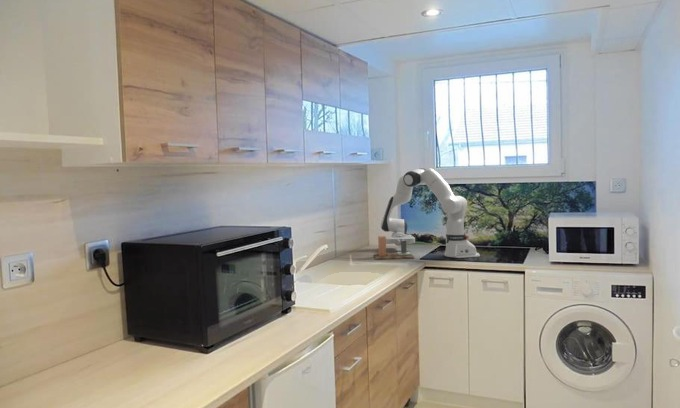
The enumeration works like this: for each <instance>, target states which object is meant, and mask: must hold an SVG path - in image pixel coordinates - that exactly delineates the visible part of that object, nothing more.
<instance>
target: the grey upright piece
mask: <svg viewBox="0 0 680 408" xmlns="http://www.w3.org/2000/svg"><path fill="white" fill-rule="evenodd" d="M400 249H401V251H397V252H396V253H397V254H398V255H411V254H412V253H411V252H410V251H407V244H406V240H402V241H401V246H400Z"/></svg>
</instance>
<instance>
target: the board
mask: <svg viewBox="0 0 680 408" xmlns="http://www.w3.org/2000/svg"><path fill="white" fill-rule="evenodd" d="M373 256H374V258H375V261H385V260H386V261H387V260H388V261H389V260H390V261H391V260H415V257H414V255H413V254H412V253H411V255H398V254H397V252H386V256H379V252H378V253H373Z"/></svg>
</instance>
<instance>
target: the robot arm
mask: <svg viewBox="0 0 680 408" xmlns="http://www.w3.org/2000/svg"><path fill="white" fill-rule="evenodd" d="M423 184H425V185H426V186H427V187H428V189H429V190H430V191H431V192H432V194H433V195H434V196H435V197H436V198H437V200H438V201H439V204H440V205H441V210H442V211H443V212H445V213H446V214H448V216H447V220H446V222H445V225H446V228H445V230H446V234H445V251H444V256H445V257H448V258H456V259H461V258H463V259H465V258H479V257H480V256H481V255H480V253H479V252H477V248H476V246H475V245H474V244H473V243H471V242H470V241H469V240H468V239H469V238H470V237H469V235H467V234H465V226H464V223H465V217H466V209H467V206H468V201H467V199H466V198H465V197H464V196H462V195H455V194H454V192H453V191H452V189H451V186H450V184H448V183H447V181H446V180H445V179H444V178H443V176H442V175H440V173H438V172H437V171H436V170H435V169H433V168H431V167H429V168H418V169H413V170H410V171H406V173H405V174H404V175H402V176H400V177H399V179H398V182H397V184H396V185H397V186H396V191H395V193H394V195H393V196H391V197H390V198H389V200H388V202H387V207H386V208H385V212H384V215H383V217H382V219H381V223H380V228H381V230H382V231H383V232H390V233H391V235H390V236H391V237H386V245H395V246H398V247H399V246H400V247H401V241H402V240H406V245H410V244H415V243H416V238H415V237H414V236H413V235H412V234H407V232H408V223H407V221H406V220H405V219H404V218H403V219H402V218H394V217H391V216H392V211H393V209H394V208H395V207H398V206H402V205H405V204H407V203H409V202H410V201H411V199H412V195H413V189H414V187H417V186H421V185H423Z"/></svg>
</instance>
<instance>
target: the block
mask: <svg viewBox="0 0 680 408" xmlns="http://www.w3.org/2000/svg"><path fill="white" fill-rule="evenodd" d="M377 238H378V239H377V240H378V244H377V245H378V253H379V256H386V253H387V244H386V238H387V237H386V236H385V235H384V236H383V235H382V236H378V237H377Z"/></svg>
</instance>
